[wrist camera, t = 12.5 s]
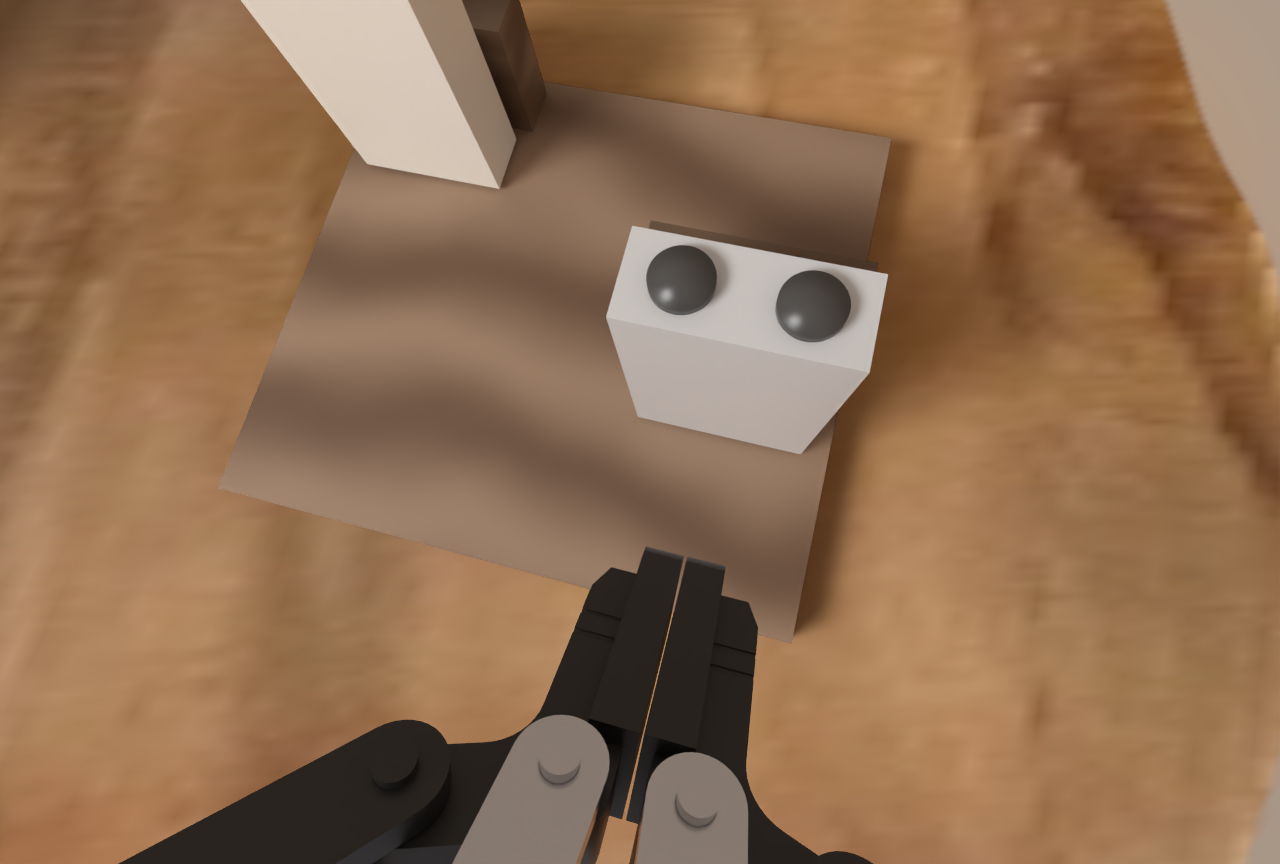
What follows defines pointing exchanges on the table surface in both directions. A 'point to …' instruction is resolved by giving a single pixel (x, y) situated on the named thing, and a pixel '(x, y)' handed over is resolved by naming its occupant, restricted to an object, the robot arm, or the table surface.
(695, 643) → the robot arm
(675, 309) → the tile two
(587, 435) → the brown piece
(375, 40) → the tile one
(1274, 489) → the table surface
